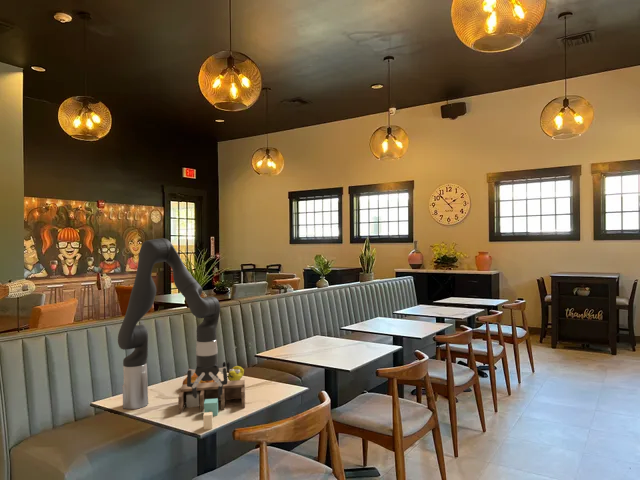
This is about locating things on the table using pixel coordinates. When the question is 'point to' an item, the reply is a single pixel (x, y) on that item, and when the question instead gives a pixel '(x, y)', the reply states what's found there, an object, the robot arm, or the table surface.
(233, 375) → the toy
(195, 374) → the croissant
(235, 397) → the lane shelf
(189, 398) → the plain block
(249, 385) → the table surface
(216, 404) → the block
